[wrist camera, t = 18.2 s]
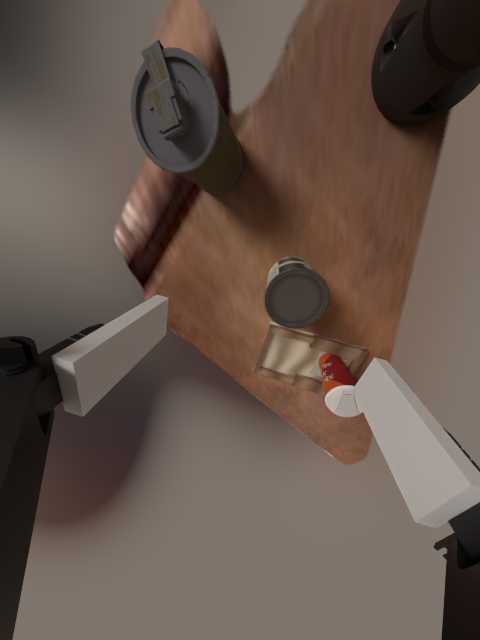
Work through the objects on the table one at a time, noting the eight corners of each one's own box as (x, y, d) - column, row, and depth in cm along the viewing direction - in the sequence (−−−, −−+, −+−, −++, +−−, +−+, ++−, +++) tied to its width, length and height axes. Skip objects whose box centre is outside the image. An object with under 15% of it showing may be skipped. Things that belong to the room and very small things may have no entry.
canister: (249, 181, 38) (227, 142, 20) (201, 201, 41) (144, 182, 23) (231, 110, 34) (184, -17, 16) (179, 137, 37) (90, 55, 19)
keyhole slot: (253, 369, 57) (253, 373, 55) (270, 320, 50) (270, 324, 48) (336, 393, 56) (338, 398, 54) (365, 347, 49) (368, 352, 47)
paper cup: (314, 349, 51) (327, 390, 38) (347, 348, 49) (371, 390, 37) (314, 374, 54) (325, 419, 41) (344, 373, 52) (366, 420, 40)
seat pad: (309, 372, 54) (309, 373, 54) (320, 352, 51) (320, 352, 51) (334, 380, 54) (335, 380, 54) (347, 360, 51) (347, 360, 50)
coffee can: (299, 245, 42) (309, 254, 29) (322, 286, 44) (341, 309, 32) (258, 273, 45) (251, 292, 33) (281, 309, 48) (284, 338, 35)
